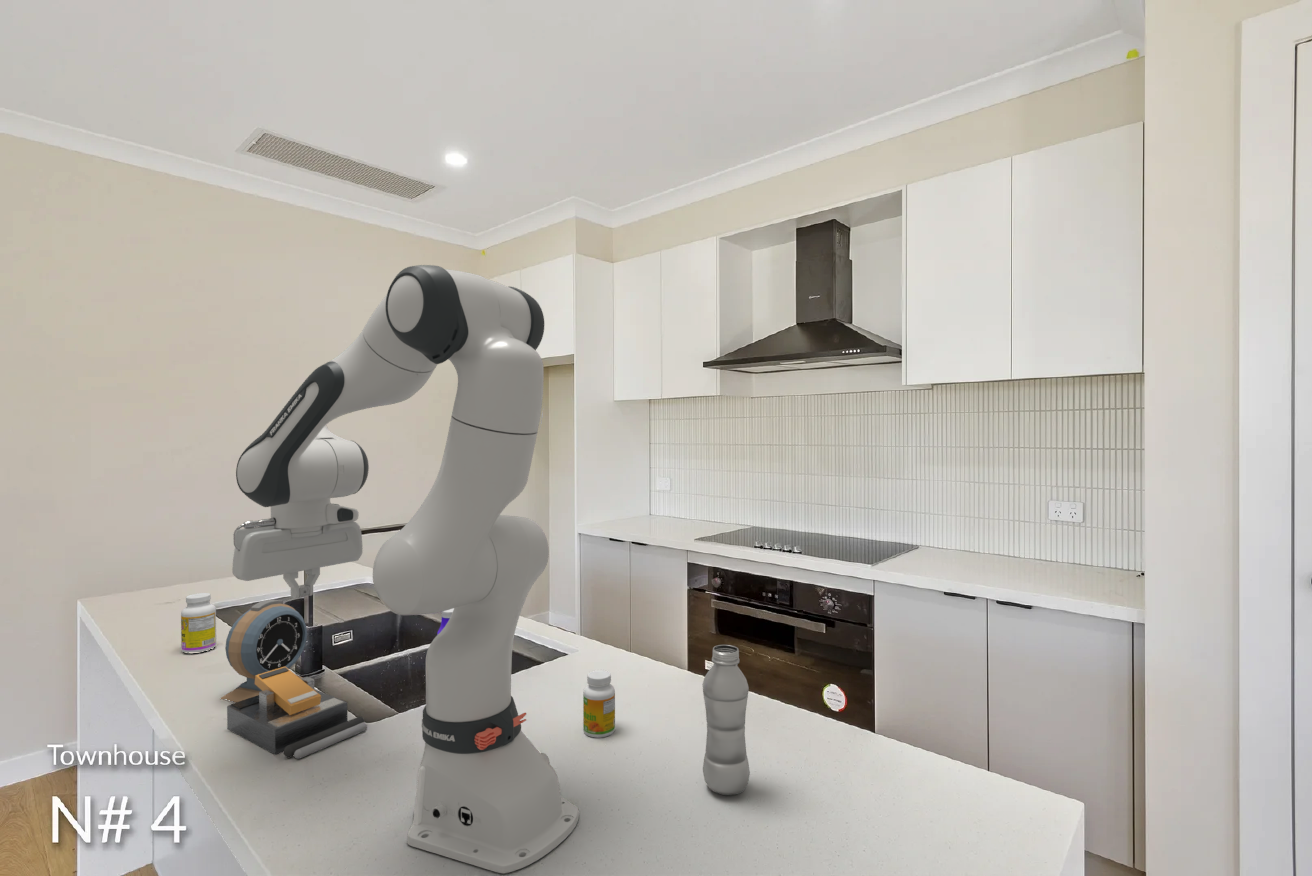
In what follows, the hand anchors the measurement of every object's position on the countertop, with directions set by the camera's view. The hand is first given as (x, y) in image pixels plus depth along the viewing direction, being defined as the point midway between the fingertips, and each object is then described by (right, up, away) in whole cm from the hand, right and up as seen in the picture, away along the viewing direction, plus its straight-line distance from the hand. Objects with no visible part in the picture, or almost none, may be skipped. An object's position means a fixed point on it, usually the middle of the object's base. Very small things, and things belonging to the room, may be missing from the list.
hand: (302, 596), depth 108 cm
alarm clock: (-17, -23, +18) cm, 33 cm away
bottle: (+21, -23, +13) cm, 34 cm away
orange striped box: (-4, -17, +2) cm, 17 cm away
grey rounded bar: (+6, -23, -3) cm, 24 cm away
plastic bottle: (+70, -23, -17) cm, 76 cm away
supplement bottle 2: (+50, -23, 0) cm, 55 cm away
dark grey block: (-4, -23, +2) cm, 23 cm away
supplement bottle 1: (-47, -23, +41) cm, 66 cm away
